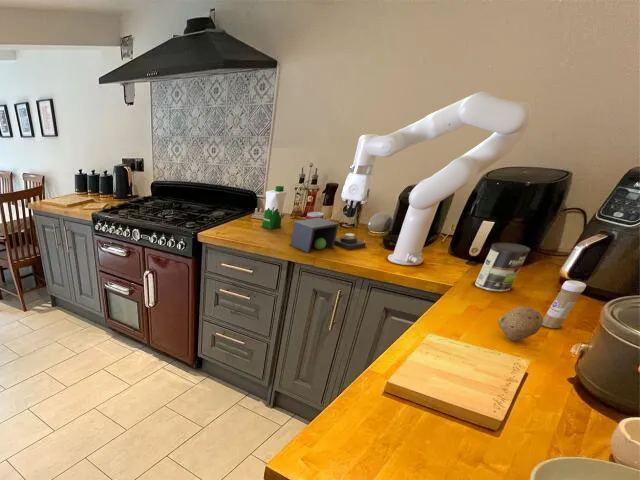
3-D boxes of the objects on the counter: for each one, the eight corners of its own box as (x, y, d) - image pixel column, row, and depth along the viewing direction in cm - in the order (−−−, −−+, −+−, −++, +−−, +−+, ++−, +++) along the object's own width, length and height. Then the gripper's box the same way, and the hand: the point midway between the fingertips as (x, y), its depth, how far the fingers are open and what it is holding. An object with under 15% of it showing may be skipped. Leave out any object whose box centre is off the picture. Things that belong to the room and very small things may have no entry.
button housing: (364, 247, 189) (366, 239, 187) (348, 249, 187) (350, 242, 185) (345, 240, 199) (347, 233, 197) (330, 243, 197) (332, 235, 195)
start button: (355, 238, 190) (356, 234, 189) (348, 240, 189) (349, 236, 188) (349, 236, 193) (350, 232, 192) (342, 237, 192) (343, 234, 191)
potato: (484, 336, 120) (500, 304, 114) (503, 329, 123) (520, 298, 117) (519, 350, 113) (538, 317, 108) (538, 342, 116) (558, 310, 110)
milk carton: (283, 227, 223) (289, 187, 212) (270, 230, 220) (276, 189, 208) (271, 223, 230) (277, 184, 218) (259, 226, 226) (264, 187, 215)
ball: (328, 236, 186) (320, 237, 191) (318, 238, 186) (311, 239, 190) (328, 248, 188) (321, 248, 193) (319, 250, 187) (312, 250, 192)
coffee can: (517, 289, 145) (538, 249, 136) (494, 293, 143) (514, 253, 135) (489, 279, 153) (507, 240, 145) (467, 283, 151) (484, 244, 143)
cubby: (333, 248, 191) (339, 223, 184) (307, 252, 187) (312, 227, 181) (314, 240, 201) (319, 217, 194) (290, 245, 198) (294, 221, 191)
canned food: (316, 233, 210) (321, 211, 203) (321, 238, 203) (326, 215, 197) (301, 234, 211) (305, 211, 204) (305, 238, 204) (309, 215, 198)
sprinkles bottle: (536, 322, 125) (560, 280, 117) (550, 321, 125) (575, 279, 117) (550, 329, 121) (576, 286, 113) (564, 328, 121) (591, 285, 114)
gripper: (339, 169, 171) (329, 215, 181) (374, 172, 160) (361, 221, 171) (350, 166, 174) (340, 212, 184) (385, 170, 163) (371, 218, 174)
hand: (350, 216), depth 178 cm, fingers closed
